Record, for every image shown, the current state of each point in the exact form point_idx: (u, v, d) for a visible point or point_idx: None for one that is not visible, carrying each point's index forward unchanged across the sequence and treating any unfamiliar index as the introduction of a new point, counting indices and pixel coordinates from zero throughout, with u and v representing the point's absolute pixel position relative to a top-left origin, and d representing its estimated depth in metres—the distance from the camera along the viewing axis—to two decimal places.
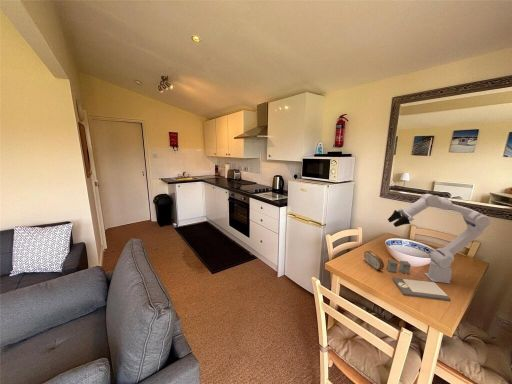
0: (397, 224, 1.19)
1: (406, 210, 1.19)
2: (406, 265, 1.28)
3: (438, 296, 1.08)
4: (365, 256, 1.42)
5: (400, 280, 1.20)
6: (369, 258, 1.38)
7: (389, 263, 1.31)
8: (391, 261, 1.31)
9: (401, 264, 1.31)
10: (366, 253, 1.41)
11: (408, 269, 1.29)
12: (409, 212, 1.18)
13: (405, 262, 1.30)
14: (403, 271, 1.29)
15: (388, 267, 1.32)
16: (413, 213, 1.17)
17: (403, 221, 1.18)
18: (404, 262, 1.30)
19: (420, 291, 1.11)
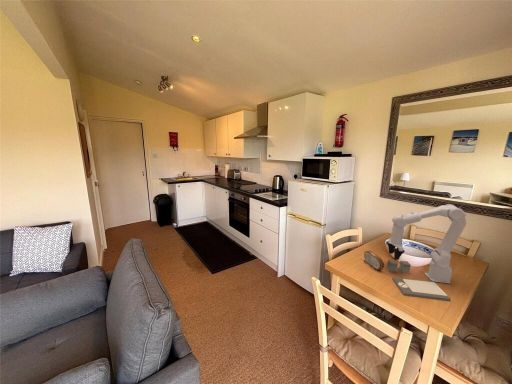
0: (397, 257, 1.26)
1: (392, 241, 1.28)
2: (406, 265, 1.28)
3: (438, 296, 1.08)
4: (365, 256, 1.42)
5: (400, 280, 1.20)
6: (369, 258, 1.38)
7: (389, 263, 1.31)
8: (391, 261, 1.31)
9: (401, 264, 1.31)
10: (366, 253, 1.41)
11: (408, 269, 1.29)
12: (396, 242, 1.26)
13: (405, 262, 1.30)
14: (403, 271, 1.29)
15: (388, 267, 1.32)
16: (399, 240, 1.25)
17: (398, 252, 1.25)
18: (404, 262, 1.30)
19: (420, 291, 1.11)
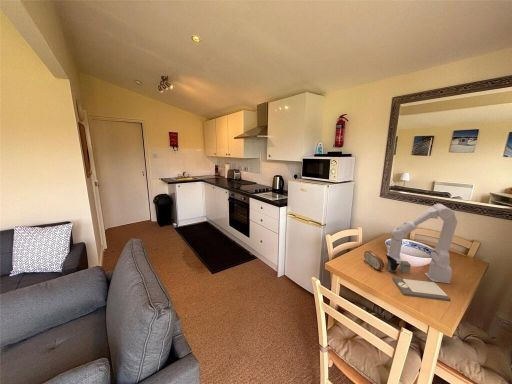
0: (394, 268, 1.29)
1: (390, 253, 1.29)
2: (406, 265, 1.28)
3: (438, 296, 1.08)
4: (365, 256, 1.42)
5: (400, 280, 1.20)
6: (369, 258, 1.38)
7: (389, 263, 1.31)
8: None
9: (401, 264, 1.31)
10: (366, 253, 1.41)
11: (408, 269, 1.29)
12: (394, 254, 1.28)
13: (405, 262, 1.30)
14: (403, 271, 1.29)
15: (388, 267, 1.32)
16: (397, 253, 1.27)
17: (395, 263, 1.29)
18: (404, 262, 1.30)
19: (420, 291, 1.11)
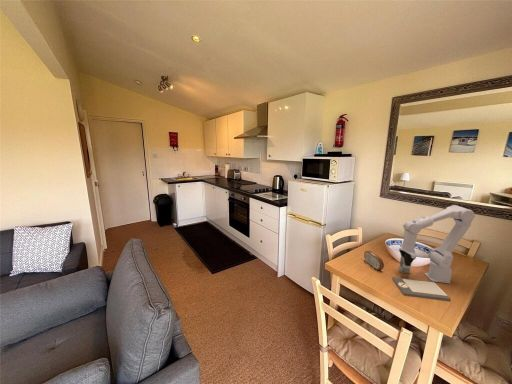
0: (408, 263, 1.22)
1: (404, 248, 1.22)
2: None
3: (438, 296, 1.08)
4: (365, 256, 1.42)
5: (400, 280, 1.20)
6: (369, 258, 1.38)
7: (402, 259, 1.24)
8: None
9: None
10: (366, 253, 1.41)
11: (408, 269, 1.29)
12: (408, 248, 1.20)
13: None
14: (403, 271, 1.29)
15: (401, 263, 1.25)
16: (411, 247, 1.20)
17: (410, 258, 1.21)
18: None
19: (420, 291, 1.11)
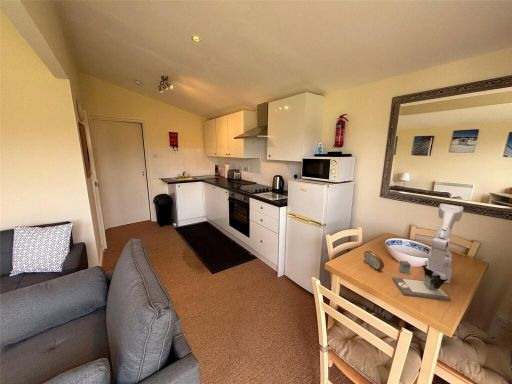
0: (437, 285, 1.09)
1: (431, 267, 1.10)
2: (406, 265, 1.28)
3: (438, 296, 1.08)
4: (365, 256, 1.42)
5: (400, 280, 1.20)
6: (369, 258, 1.38)
7: (428, 279, 1.12)
8: (431, 277, 1.12)
9: (401, 264, 1.31)
10: (366, 253, 1.41)
11: (408, 269, 1.29)
12: (436, 268, 1.09)
13: (405, 262, 1.30)
14: (403, 271, 1.29)
15: (427, 284, 1.13)
16: (440, 266, 1.08)
17: (439, 280, 1.08)
18: (404, 262, 1.30)
19: (420, 291, 1.11)
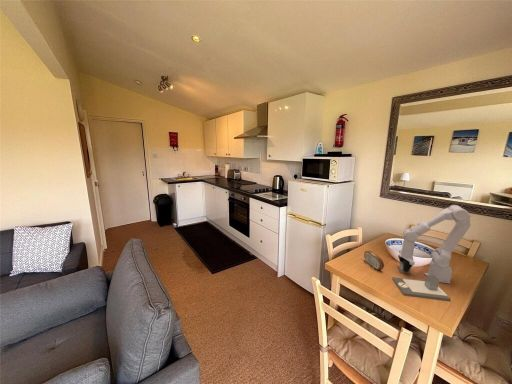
0: (406, 269, 1.28)
1: (403, 255, 1.28)
2: None
3: (438, 296, 1.08)
4: (365, 256, 1.42)
5: (400, 280, 1.20)
6: (369, 258, 1.38)
7: (428, 279, 1.12)
8: (431, 277, 1.12)
9: (401, 264, 1.31)
10: (366, 253, 1.41)
11: None
12: (406, 255, 1.27)
13: None
14: (403, 271, 1.29)
15: (427, 284, 1.13)
16: (410, 254, 1.26)
17: (408, 264, 1.27)
18: None
19: (420, 291, 1.11)
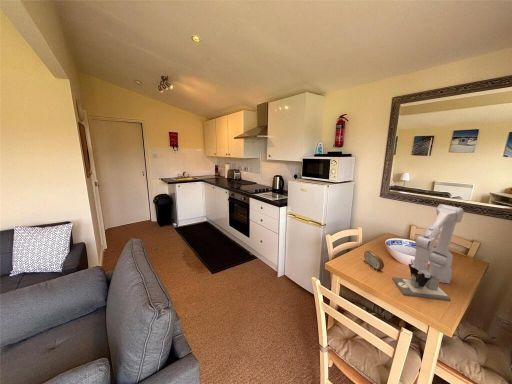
0: (422, 284, 1.10)
1: (416, 265, 1.11)
2: None
3: (438, 296, 1.08)
4: (365, 256, 1.42)
5: (400, 280, 1.20)
6: (369, 258, 1.38)
7: None
8: None
9: (413, 277, 1.14)
10: (366, 253, 1.41)
11: None
12: (420, 266, 1.10)
13: None
14: (416, 286, 1.13)
15: (427, 284, 1.13)
16: (424, 265, 1.09)
17: (424, 278, 1.09)
18: (417, 275, 1.14)
19: (420, 291, 1.11)
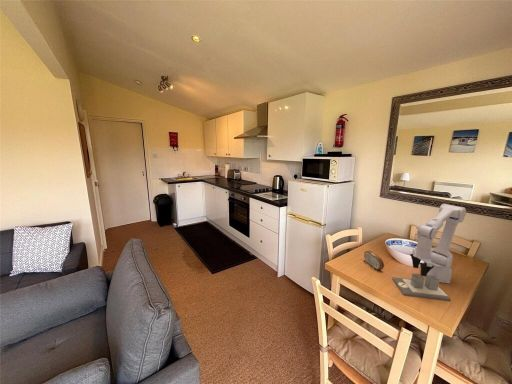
0: (424, 273, 1.09)
1: (418, 255, 1.10)
2: (419, 279, 1.12)
3: (438, 296, 1.08)
4: (365, 256, 1.42)
5: (400, 280, 1.20)
6: (369, 258, 1.38)
7: (428, 279, 1.12)
8: (431, 277, 1.12)
9: (413, 277, 1.14)
10: (366, 253, 1.41)
11: (422, 283, 1.12)
12: (423, 255, 1.09)
13: (418, 275, 1.14)
14: (416, 286, 1.13)
15: (427, 284, 1.13)
16: (427, 254, 1.08)
17: (426, 267, 1.08)
18: (417, 275, 1.14)
19: (420, 291, 1.11)
